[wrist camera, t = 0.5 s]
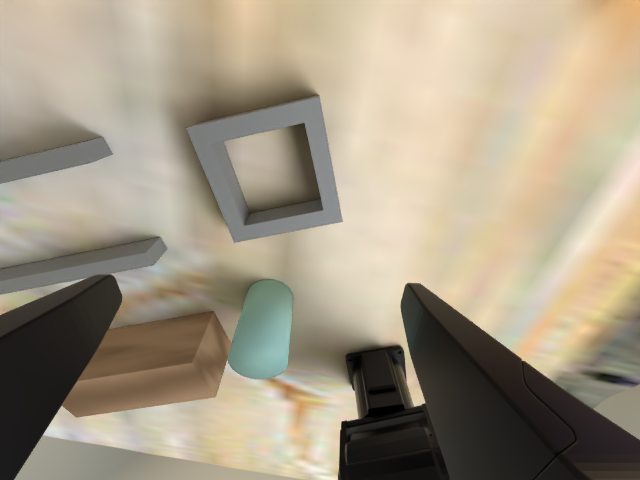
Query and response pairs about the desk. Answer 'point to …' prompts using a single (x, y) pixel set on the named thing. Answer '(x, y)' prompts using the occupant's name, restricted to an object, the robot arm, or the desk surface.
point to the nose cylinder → (263, 331)
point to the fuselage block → (152, 366)
